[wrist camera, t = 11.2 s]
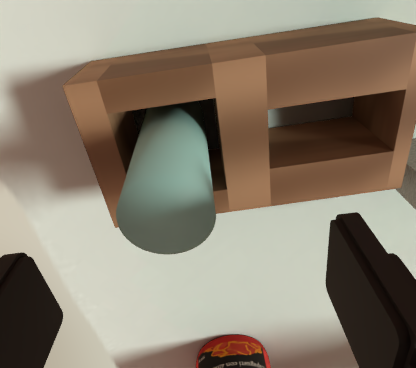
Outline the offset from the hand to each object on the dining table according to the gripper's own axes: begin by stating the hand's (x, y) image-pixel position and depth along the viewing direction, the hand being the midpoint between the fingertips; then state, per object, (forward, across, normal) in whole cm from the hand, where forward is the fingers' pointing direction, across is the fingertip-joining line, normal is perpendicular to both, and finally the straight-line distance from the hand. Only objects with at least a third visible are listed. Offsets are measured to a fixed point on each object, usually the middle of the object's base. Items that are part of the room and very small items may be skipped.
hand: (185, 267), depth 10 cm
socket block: (+12, -3, -1) cm, 13 cm away
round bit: (+12, +1, -1) cm, 12 cm away
